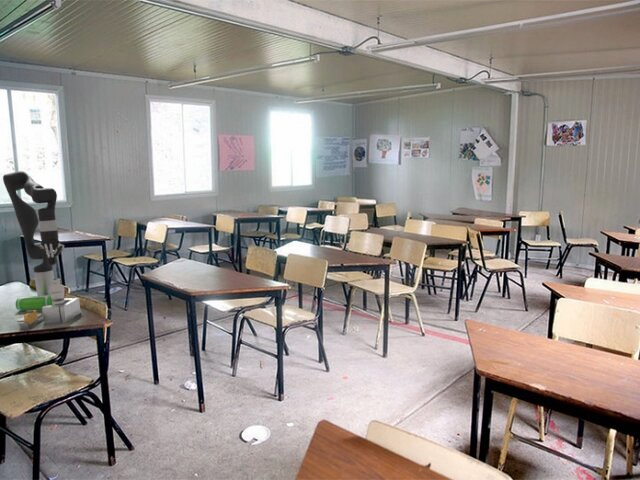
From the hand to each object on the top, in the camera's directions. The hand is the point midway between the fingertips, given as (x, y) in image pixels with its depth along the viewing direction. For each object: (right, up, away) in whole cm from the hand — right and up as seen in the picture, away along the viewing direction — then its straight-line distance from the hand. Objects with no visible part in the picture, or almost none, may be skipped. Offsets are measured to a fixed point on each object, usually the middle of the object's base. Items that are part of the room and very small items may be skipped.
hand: (53, 264), depth 233 cm
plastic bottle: (+1, -27, +5) cm, 28 cm away
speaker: (-20, -26, +21) cm, 39 cm away
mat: (-15, -27, +6) cm, 32 cm away
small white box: (-1, -28, +1) cm, 28 cm away
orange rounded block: (-8, -29, -4) cm, 30 cm away
